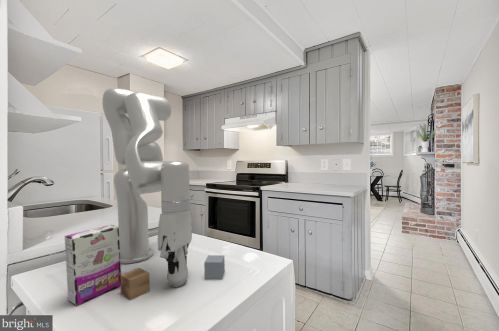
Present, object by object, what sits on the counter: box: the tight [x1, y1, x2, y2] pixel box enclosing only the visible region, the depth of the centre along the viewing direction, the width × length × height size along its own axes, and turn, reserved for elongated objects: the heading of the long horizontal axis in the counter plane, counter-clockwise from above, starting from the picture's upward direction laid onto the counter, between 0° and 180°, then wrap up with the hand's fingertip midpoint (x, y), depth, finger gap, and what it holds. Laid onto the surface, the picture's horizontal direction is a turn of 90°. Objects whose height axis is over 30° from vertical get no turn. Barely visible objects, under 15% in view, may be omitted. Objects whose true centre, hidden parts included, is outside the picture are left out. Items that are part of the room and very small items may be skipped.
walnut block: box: [120, 267, 151, 301], centre depth 62 cm, size 5×5×5 cm
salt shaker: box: [166, 247, 189, 288], centre depth 67 cm, size 6×6×13 cm
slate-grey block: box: [203, 254, 226, 281], centre depth 71 cm, size 5×5×5 cm
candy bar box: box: [64, 224, 122, 306], centre depth 62 cm, size 11×5×16 cm, turn 148°
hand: (177, 271), depth 67 cm, fingers closed on salt shaker, 3 cm apart
